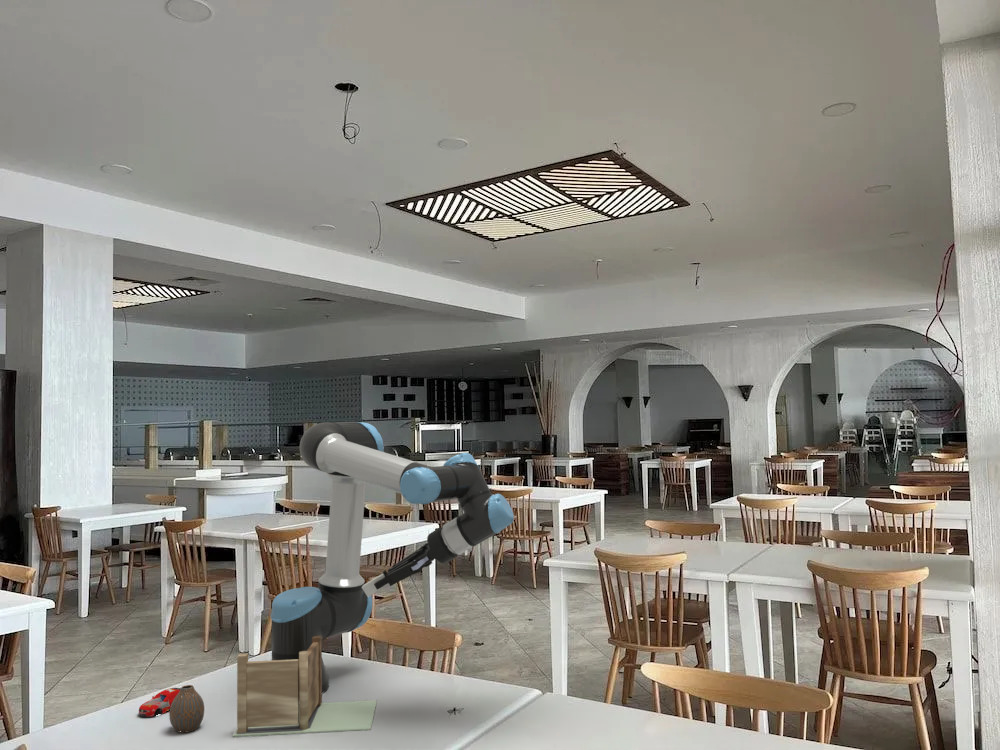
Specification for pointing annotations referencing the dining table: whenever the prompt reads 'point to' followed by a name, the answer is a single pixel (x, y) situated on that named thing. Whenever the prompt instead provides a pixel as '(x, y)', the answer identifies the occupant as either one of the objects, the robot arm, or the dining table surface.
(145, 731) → the dining table surface
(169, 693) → the race car
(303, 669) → the birch fence section
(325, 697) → the dining table surface
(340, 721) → the card
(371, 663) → the dining table surface
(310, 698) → the walnut panel
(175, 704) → the vase
